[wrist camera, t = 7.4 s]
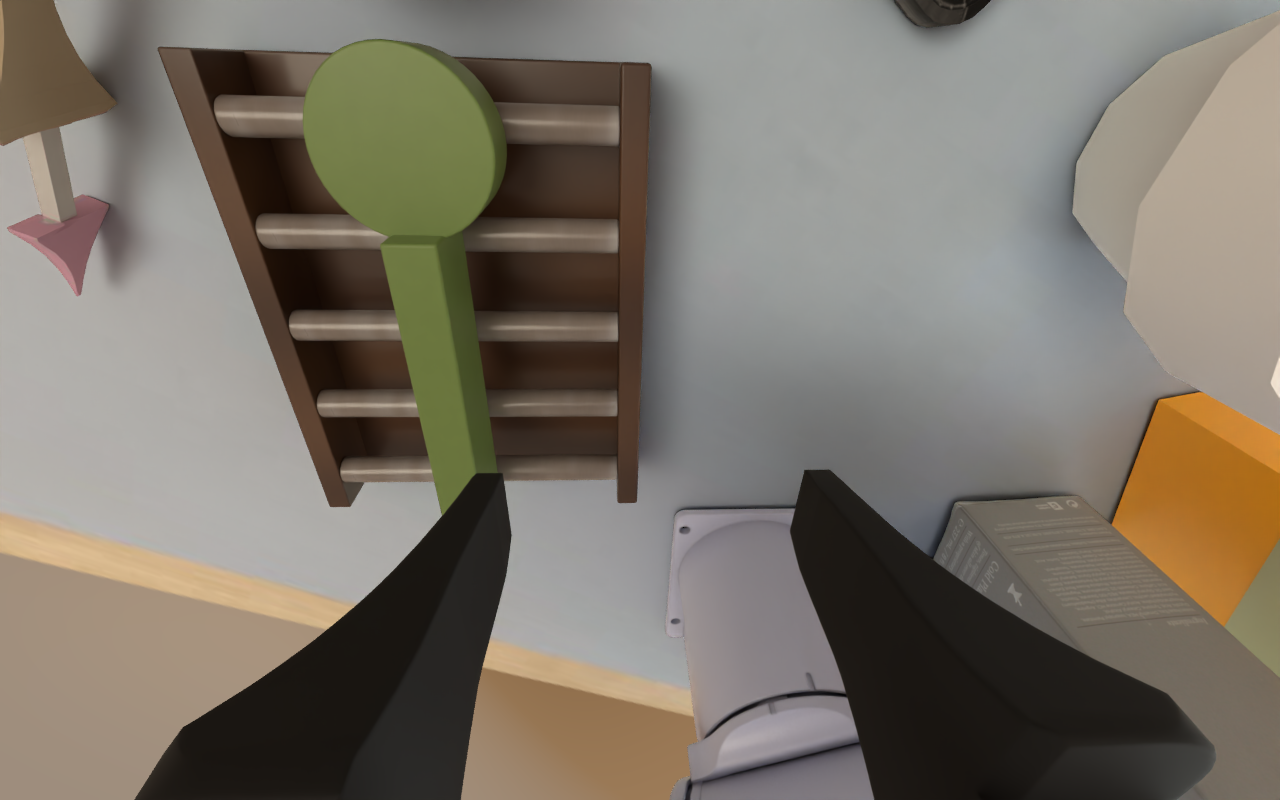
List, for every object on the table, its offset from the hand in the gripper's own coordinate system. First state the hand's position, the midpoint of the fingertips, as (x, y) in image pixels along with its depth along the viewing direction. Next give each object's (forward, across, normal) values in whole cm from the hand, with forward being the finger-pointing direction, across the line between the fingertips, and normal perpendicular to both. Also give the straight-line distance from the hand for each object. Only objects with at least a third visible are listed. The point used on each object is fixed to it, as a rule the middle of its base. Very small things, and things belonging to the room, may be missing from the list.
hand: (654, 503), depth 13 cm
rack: (+9, +6, -2) cm, 11 cm away
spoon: (+6, +6, -2) cm, 9 cm away
